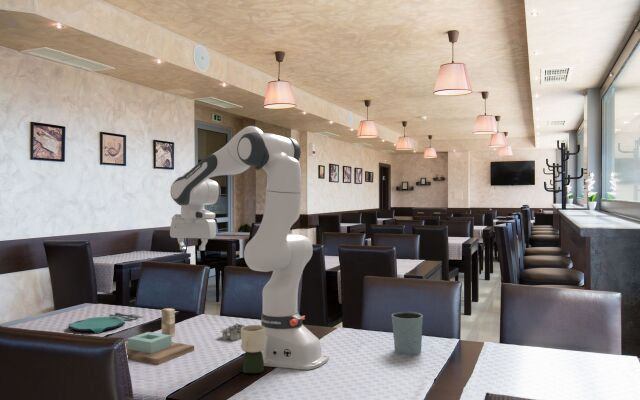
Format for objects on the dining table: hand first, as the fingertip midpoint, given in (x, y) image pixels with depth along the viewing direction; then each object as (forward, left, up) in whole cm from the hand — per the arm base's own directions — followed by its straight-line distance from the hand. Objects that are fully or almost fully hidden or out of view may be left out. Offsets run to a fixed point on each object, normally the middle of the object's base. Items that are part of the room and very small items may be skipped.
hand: (192, 250), depth 199 cm
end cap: (-6, +28, -29) cm, 41 cm away
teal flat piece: (+38, +8, -31) cm, 50 cm away
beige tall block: (+2, +11, -31) cm, 33 cm away
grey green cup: (-82, -10, -31) cm, 88 cm away
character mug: (-48, +29, -31) cm, 64 cm away
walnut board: (-6, +28, -31) cm, 42 cm away
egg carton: (-20, 0, -31) cm, 37 cm away
